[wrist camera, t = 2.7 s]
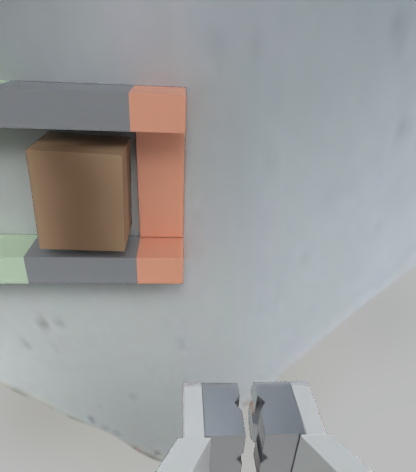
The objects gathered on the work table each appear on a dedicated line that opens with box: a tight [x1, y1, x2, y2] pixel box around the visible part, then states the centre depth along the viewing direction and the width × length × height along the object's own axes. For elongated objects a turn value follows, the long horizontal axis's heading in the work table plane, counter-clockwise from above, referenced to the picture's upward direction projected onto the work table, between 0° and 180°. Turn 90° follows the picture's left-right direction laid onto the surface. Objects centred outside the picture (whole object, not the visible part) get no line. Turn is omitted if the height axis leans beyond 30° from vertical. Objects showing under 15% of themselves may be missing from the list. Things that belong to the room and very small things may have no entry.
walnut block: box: [26, 133, 132, 252], centre depth 24 cm, size 5×6×4 cm
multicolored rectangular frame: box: [0, 80, 186, 284], centre depth 24 cm, size 20×12×3 cm, turn 87°
